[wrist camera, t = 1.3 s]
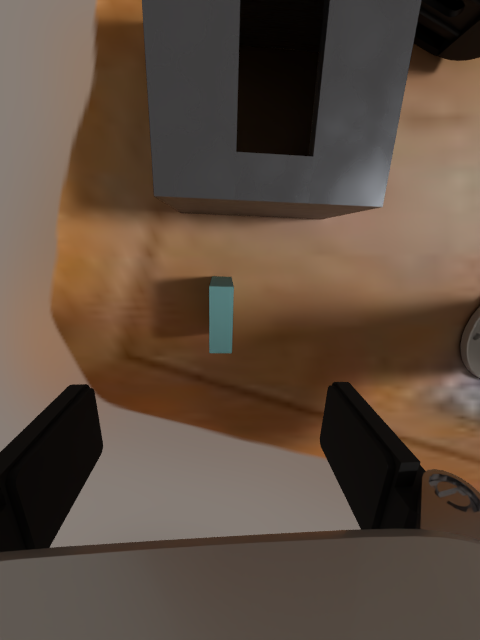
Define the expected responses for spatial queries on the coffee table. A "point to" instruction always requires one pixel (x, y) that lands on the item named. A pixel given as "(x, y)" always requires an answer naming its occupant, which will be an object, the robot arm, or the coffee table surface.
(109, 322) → the coffee table surface
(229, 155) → the box
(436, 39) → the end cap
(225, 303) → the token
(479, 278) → the coffee table surface
